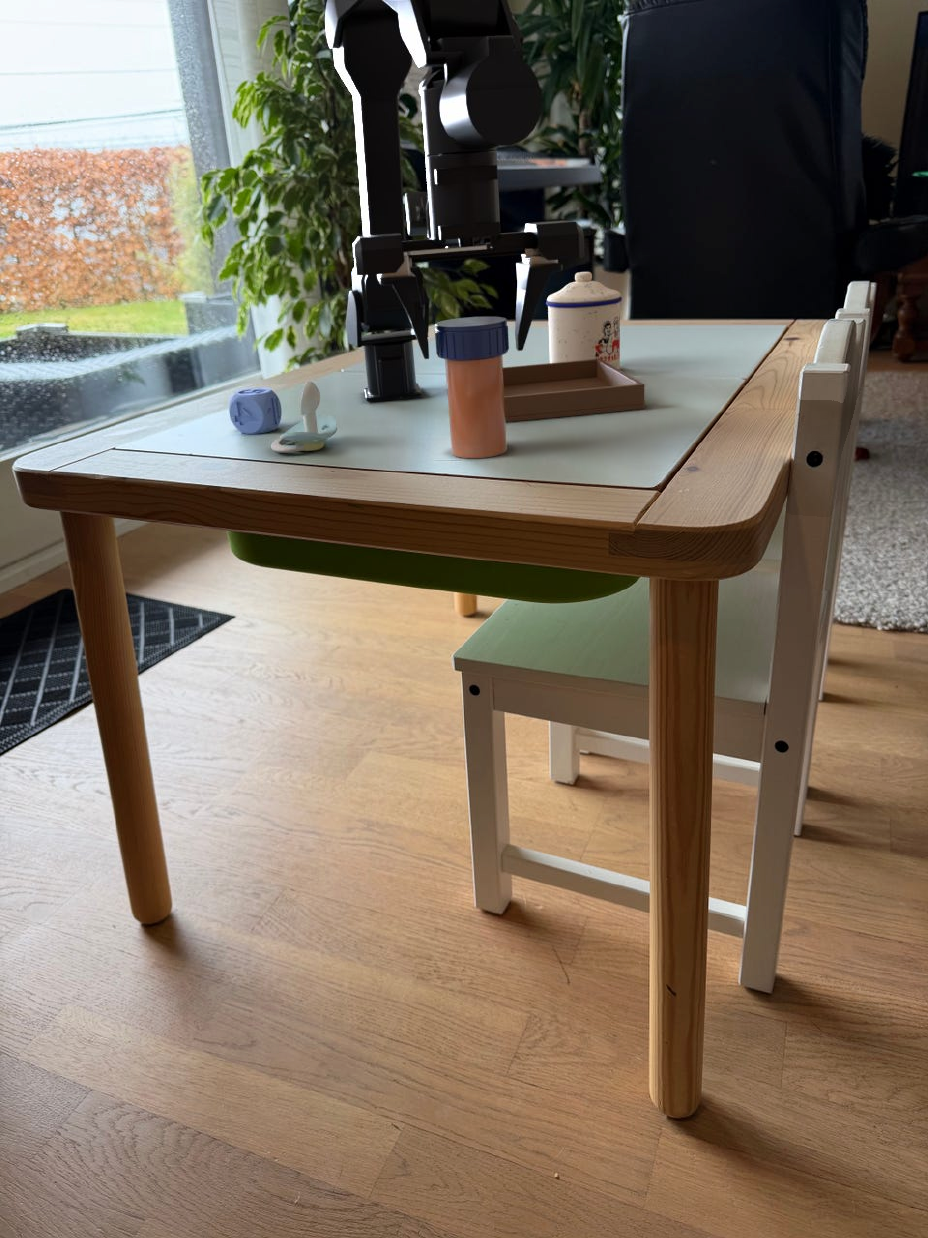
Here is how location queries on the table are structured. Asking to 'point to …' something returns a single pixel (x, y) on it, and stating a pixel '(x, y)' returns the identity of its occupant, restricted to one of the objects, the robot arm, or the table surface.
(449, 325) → the lid
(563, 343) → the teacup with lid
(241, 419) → the decorative dice
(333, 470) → the table surface
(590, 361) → the tray
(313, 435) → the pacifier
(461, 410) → the jar
